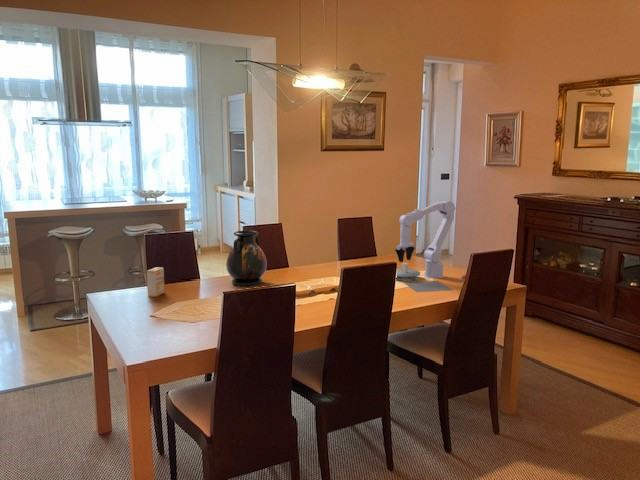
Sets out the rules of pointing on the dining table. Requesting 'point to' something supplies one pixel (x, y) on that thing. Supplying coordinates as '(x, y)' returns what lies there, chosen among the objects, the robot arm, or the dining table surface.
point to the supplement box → (155, 281)
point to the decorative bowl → (406, 278)
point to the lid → (406, 271)
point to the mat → (427, 286)
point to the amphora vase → (246, 260)
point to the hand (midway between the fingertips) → (404, 260)
